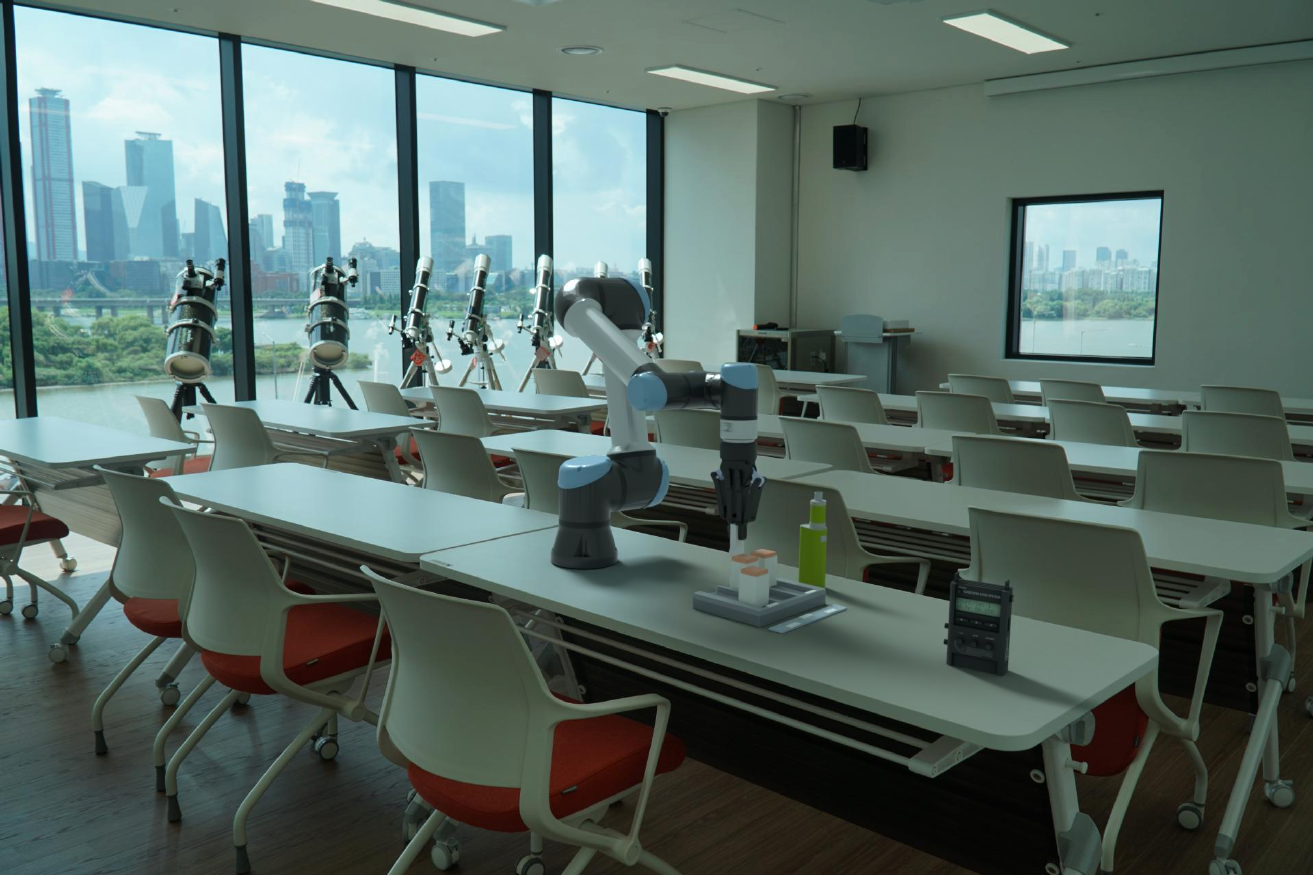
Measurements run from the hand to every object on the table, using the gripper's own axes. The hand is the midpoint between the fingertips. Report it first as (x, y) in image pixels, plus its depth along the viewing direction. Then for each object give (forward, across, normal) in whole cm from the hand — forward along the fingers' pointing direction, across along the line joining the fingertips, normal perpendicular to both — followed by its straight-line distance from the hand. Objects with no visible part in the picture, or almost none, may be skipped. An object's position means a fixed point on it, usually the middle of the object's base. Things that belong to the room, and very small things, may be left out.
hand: (737, 554), depth 204 cm
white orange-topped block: (+5, +6, 0) cm, 8 cm away
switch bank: (+7, +10, -6) cm, 14 cm away
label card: (+8, +22, -6) cm, 24 cm away
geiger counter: (+8, +56, -8) cm, 57 cm away
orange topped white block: (+5, +14, -12) cm, 19 cm away
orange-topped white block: (+5, +6, -6) cm, 10 cm away
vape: (+8, +10, +13) cm, 18 cm away
